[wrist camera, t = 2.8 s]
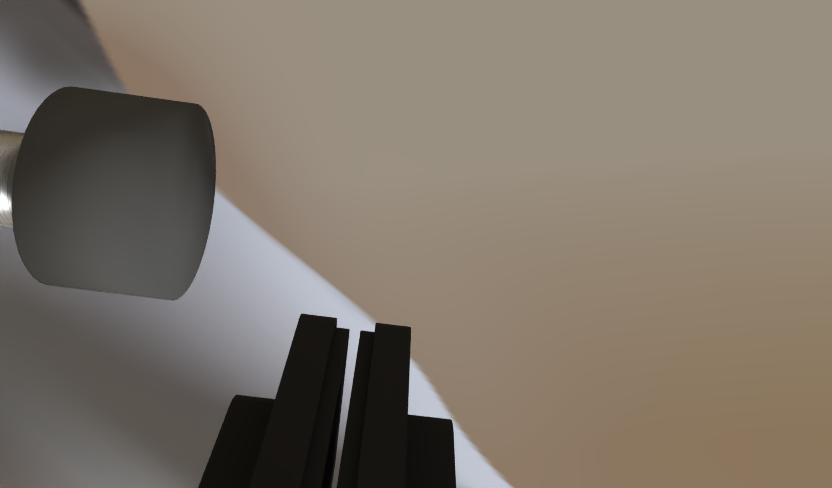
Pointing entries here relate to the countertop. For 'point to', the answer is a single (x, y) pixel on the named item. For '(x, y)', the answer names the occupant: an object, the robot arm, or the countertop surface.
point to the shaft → (110, 192)
